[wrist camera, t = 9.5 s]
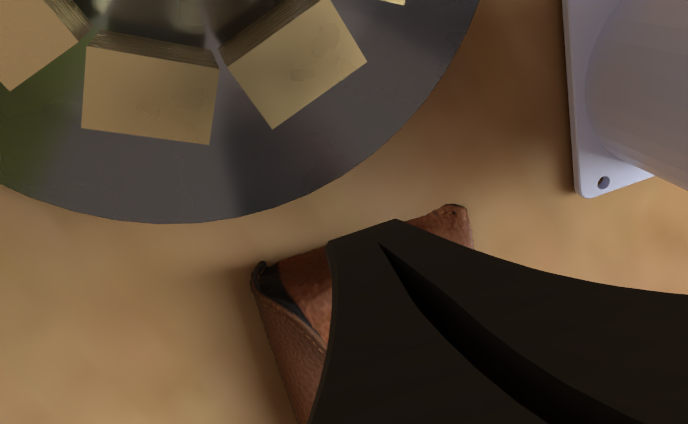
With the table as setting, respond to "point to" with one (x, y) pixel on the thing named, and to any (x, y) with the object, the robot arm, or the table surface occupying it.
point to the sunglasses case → (319, 306)
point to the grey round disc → (222, 115)
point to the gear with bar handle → (182, 66)
